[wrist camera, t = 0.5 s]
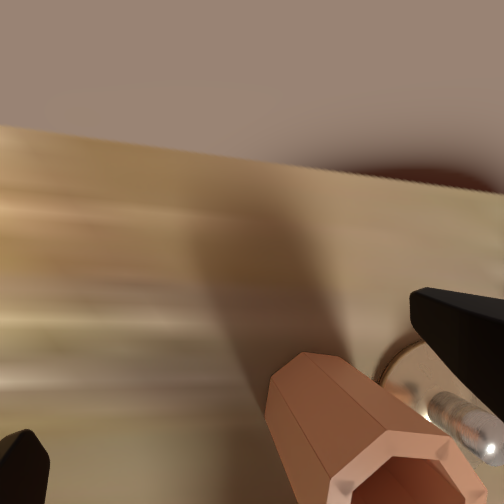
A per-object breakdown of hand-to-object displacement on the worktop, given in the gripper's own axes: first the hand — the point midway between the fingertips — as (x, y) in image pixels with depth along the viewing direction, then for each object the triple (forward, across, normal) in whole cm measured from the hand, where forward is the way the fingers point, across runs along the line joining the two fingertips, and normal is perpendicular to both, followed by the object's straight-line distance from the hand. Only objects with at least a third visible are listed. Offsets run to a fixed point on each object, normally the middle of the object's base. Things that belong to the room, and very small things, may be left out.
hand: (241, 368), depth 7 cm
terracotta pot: (+10, -4, +13) cm, 17 cm away
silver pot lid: (+8, -13, +16) cm, 22 cm away
